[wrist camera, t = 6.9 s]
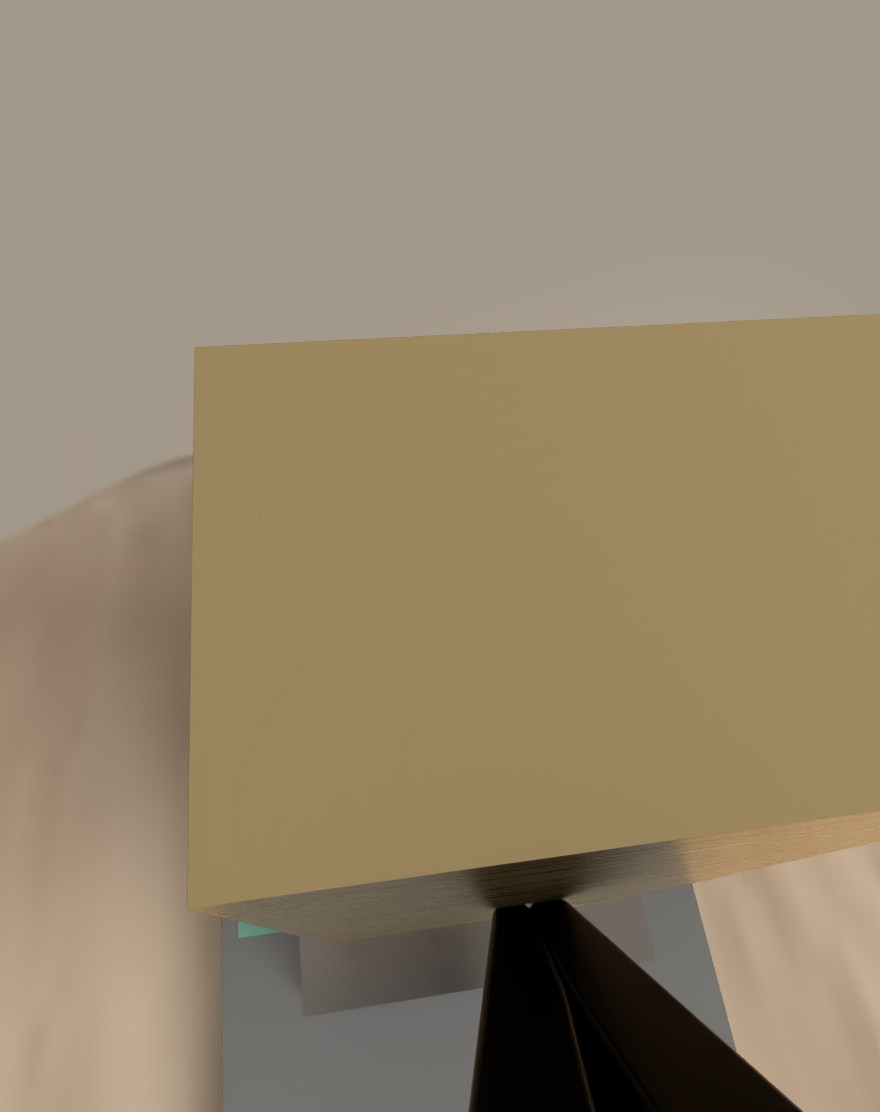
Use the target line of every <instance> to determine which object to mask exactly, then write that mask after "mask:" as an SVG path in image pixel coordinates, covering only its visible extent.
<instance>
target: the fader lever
mask: <svg viewBox="0 0 880 1112" xmlns="http://www.w3.org/2000/svg"><path fill="white" fill-rule="evenodd" d="M194 374H195V376H194V445H193V447H194V449H193V518H192V592H191V665H190V739H189V813H188V887H187V909H189V910H193V911H197V912H202V913H206V914H210V915H214V916H218V917H222V918H226V919H230V920H234V921H239V922H243V923H247V924H251V925H255V926H259V927H263V928H267V929H272V930H276V931H280V932H284V933H288V934H292V935H296V936H299V943H300V964H301V986H302V1007H303V1017H307V1016H313V1015H319V1014H325V1013H332V1012H338V1011H344V1010H350V1009H356V1008H362V1007H368V1006H375V1005H381V1004H387V1003H393V1002H399V1001H405V1000H411V999H418V998H424V997H430V996H436V995H442V994H448V993H454V992H461V991H467V990H473V989H479V988H484V980H485V972H486V964H487V956H488V947H489V939H490V931H491V923H492V916H493V912H494V910H495V909H498V908H504V907H511V906H518V905H526V906H528V907H530V906H531V905H532V904H533V903H538V902H544V901H551V900H558V899H563V900H565V901H567V902H568V903H570V904H571V905H572V906H573V907H574V908H575V909H576V910H578V911H579V912H580V913H581V914H582V915H583V916H584V917H585V918H586V919H588V920H589V921H590V922H591V923H592V924H593V925H594V926H595V927H597V928H598V929H599V930H600V931H601V932H602V933H603V934H604V935H606V936H607V937H608V938H609V939H610V940H611V941H612V942H613V943H615V944H616V945H617V946H618V947H619V948H620V949H621V950H622V951H624V952H625V953H626V954H627V955H628V956H629V957H630V958H631V959H632V960H634V961H635V962H636V963H639V962H645V961H651V960H656V958H655V954H654V950H653V945H652V941H651V937H650V933H649V928H648V924H647V920H646V916H645V911H644V907H643V903H642V899H641V895H642V894H646V893H651V892H655V891H659V890H664V889H668V888H673V887H677V886H682V885H686V884H691V883H695V882H699V881H704V880H708V879H713V878H717V877H722V876H726V875H731V874H735V873H739V872H744V871H748V870H753V869H757V868H762V867H766V866H771V865H775V864H779V863H784V862H788V861H793V860H797V859H802V858H806V857H811V856H815V855H819V854H824V853H828V852H833V851H837V850H842V849H846V848H851V847H855V846H859V845H864V844H868V843H873V842H877V841H880V314H872V315H852V316H834V317H833V316H831V317H810V318H792V319H769V320H749V321H728V322H707V323H686V324H666V325H645V326H624V327H604V328H583V329H562V330H542V331H521V332H502V333H501V332H500V333H480V334H460V335H438V336H418V337H398V338H376V339H356V340H335V341H314V342H294V343H274V344H252V345H232V346H214V347H213V346H212V347H195V372H194Z"/></svg>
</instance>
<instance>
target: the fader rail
mask: <svg viewBox="0 0 880 1112" xmlns="http://www.w3.org/2000/svg"><path fill="white" fill-rule="evenodd" d="M641 899H642V903H643V907H644V911H645V916H646V920H647V924H648V928H649V933H650V937H651V941H652V945H653V950H654V954H655V958H656V960H651V961H645V962H639V963H637V964H638V965H639V966H640V967H641V968H643V969H644V970H645V971H646V972H647V973H648V974H649V975H650V976H652V977H653V978H654V979H655V980H656V981H657V982H658V983H659V984H661V985H662V986H663V987H664V988H665V989H666V990H667V991H668V992H670V993H671V994H672V995H673V996H674V997H675V998H676V999H677V1000H678V1001H680V1002H681V1003H682V1004H683V1005H684V1006H685V1007H686V1008H687V1009H689V1010H690V1011H691V1012H692V1013H693V1014H694V1015H695V1016H696V1017H698V1018H699V1019H700V1020H701V1021H702V1022H703V1023H704V1024H705V1025H707V1026H708V1027H709V1028H710V1029H711V1030H712V1031H713V1032H714V1033H716V1034H717V1035H718V1036H719V1037H720V1038H721V1039H722V1040H723V1041H724V1042H726V1043H727V1044H728V1045H729V1046H730V1047H731V1048H732V1049H733V1050H735V1051H736V1048H735V1044H734V1041H733V1037H732V1033H731V1029H730V1026H729V1022H728V1018H727V1014H726V1010H725V1007H724V1003H723V999H722V995H721V992H720V988H719V984H718V980H717V977H716V973H715V969H714V965H713V961H712V958H711V954H710V950H709V946H708V943H707V939H706V935H705V931H704V928H703V924H702V920H701V916H700V913H699V909H698V905H697V901H696V897H695V894H694V890H693V886H692V883H691V884H686V885H682V886H677V887H673V888H668V889H664V890H659V891H655V892H651V893H646V894H642V895H641ZM482 996H483V988H479V989H473V990H467V991H461V992H454V993H448V994H442V995H436V996H430V997H424V998H418V999H411V1000H405V1001H399V1002H393V1003H387V1004H381V1005H375V1006H368V1007H362V1008H356V1009H350V1010H344V1011H338V1012H332V1013H325V1014H319V1015H313V1016H307V1017H303V1007H302V986H301V964H300V943H299V936H296V935H292V934H288V933H284V932H280V931H276V930H272V929H267V928H263V927H259V926H255V925H251V924H247V923H243V922H239V921H234V920H230V919H226V918H222V1096H223V1112H468V1110H469V1102H470V1094H471V1086H472V1078H473V1070H474V1061H475V1053H476V1045H477V1037H478V1029H479V1021H480V1013H481V1004H482Z"/></svg>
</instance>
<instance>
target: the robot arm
mask: <svg viewBox="0 0 880 1112" xmlns="http://www.w3.org/2000/svg"><path fill="white" fill-rule="evenodd" d="M468 1112H803V1111H802V1110H801V1109H800V1108H799V1107H797V1106H796V1105H795V1104H794V1103H793V1102H792V1101H791V1100H790V1099H788V1098H787V1097H786V1096H785V1095H784V1094H783V1093H782V1092H781V1091H779V1090H778V1089H777V1088H776V1087H775V1086H774V1085H773V1084H772V1083H770V1082H769V1081H768V1080H767V1079H766V1078H765V1077H764V1076H763V1075H762V1074H760V1073H759V1072H758V1071H757V1070H756V1069H755V1068H754V1067H753V1066H751V1065H750V1064H749V1063H748V1062H747V1061H746V1060H745V1059H744V1058H742V1057H741V1056H740V1055H739V1054H738V1053H737V1052H736V1051H735V1050H733V1049H732V1048H731V1047H730V1046H729V1045H728V1044H727V1043H726V1042H724V1041H723V1040H722V1039H721V1038H720V1037H719V1036H718V1035H717V1034H716V1033H714V1032H713V1031H712V1030H711V1029H710V1028H709V1027H708V1026H707V1025H705V1024H704V1023H703V1022H702V1021H701V1020H700V1019H699V1018H698V1017H696V1016H695V1015H694V1014H693V1013H692V1012H691V1011H690V1010H689V1009H687V1008H686V1007H685V1006H684V1005H683V1004H682V1003H681V1002H680V1001H678V1000H677V999H676V998H675V997H674V996H673V995H672V994H671V993H670V992H668V991H667V990H666V989H665V988H664V987H663V986H662V985H661V984H659V983H658V982H657V981H656V980H655V979H654V978H653V977H652V976H650V975H649V974H648V973H647V972H646V971H645V970H644V969H643V968H641V967H640V966H639V965H638V964H637V963H636V962H635V961H634V960H632V959H631V958H630V957H629V956H628V955H627V954H626V953H625V952H624V951H622V950H621V949H620V948H619V947H618V946H617V945H616V944H615V943H613V942H612V941H611V940H610V939H609V938H608V937H607V936H606V935H604V934H603V933H602V932H601V931H600V930H599V929H598V928H597V927H595V926H594V925H593V924H592V923H591V922H590V921H589V920H588V919H586V918H585V917H584V916H583V915H582V914H581V913H580V912H579V911H578V910H576V909H575V908H574V907H573V906H572V905H571V904H570V903H568V902H567V901H565V900H563V899H558V900H551V901H544V902H538V903H533V904H532V905H531V906H530V907H528V906H526V905H518V906H511V907H504V908H498V909H495V910H494V912H493V916H492V923H491V931H490V939H489V947H488V956H487V964H486V972H485V980H484V988H483V996H482V1004H481V1013H480V1021H479V1029H478V1037H477V1045H476V1053H475V1061H474V1070H473V1078H472V1086H471V1094H470V1102H469V1110H468Z"/></svg>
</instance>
